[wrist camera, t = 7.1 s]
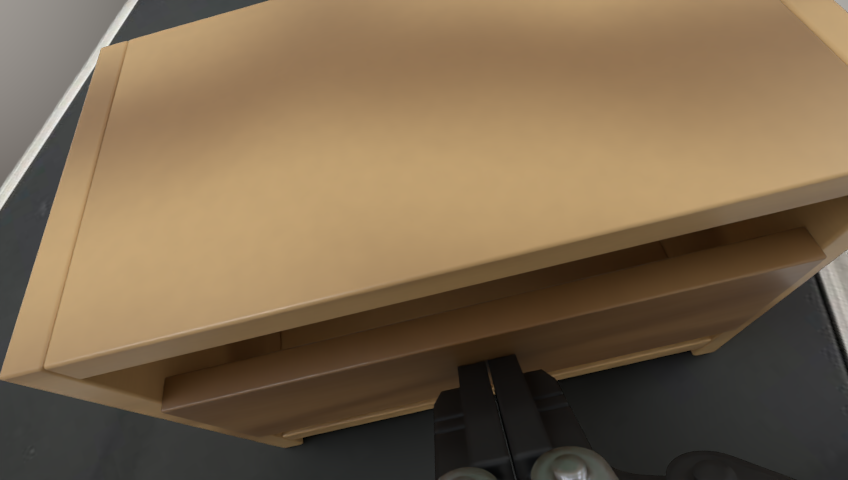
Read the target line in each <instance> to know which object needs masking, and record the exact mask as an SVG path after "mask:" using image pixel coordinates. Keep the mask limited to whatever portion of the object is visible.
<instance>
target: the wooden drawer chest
mask: <svg viewBox="0 0 848 480" xmlns="http://www.w3.org/2000/svg"><path fill="white" fill-rule="evenodd" d="M847 249H848V12H847V11H846V10H844V9H843V8H842V7H841V6H840V5H839V4H838V3H836V2H835V1H834V0H269V1H266V2H262V3H259V4H255V5H252V6H248V7H245V8H241V9H237V10H234V11H230V12H227V13H223V14H220V15H216V16H213V17H209V18H206V19H202V20H199V21H195V22H192V23H188V24H185V25H181V26H178V27H174V28H170V29H167V30H163V31H160V32H156V33H153V34H149V35H146V36H142V37H139V38H135V39H132V40H130V41H129V42H128V41H124V42H121V43H117V44H114V45H110V46H107V47H103V48H102V49H101V50H100V54H99V57H98V60H97V63H96V67H95V70H94V73H93V76H92V79H91V83H90V86H89V89H88V92H87V96H86V99H85V102H84V105H83V108H82V112H81V115H80V118H79V121H78V125H77V128H76V131H75V134H74V138H73V141H72V144H71V147H70V150H69V154H68V157H67V160H66V163H65V167H64V170H63V173H62V176H61V179H60V183H59V186H58V189H57V192H56V196H55V199H54V202H53V205H52V208H51V212H50V215H49V218H48V221H47V225H46V228H45V231H44V234H43V237H42V241H41V244H40V247H39V250H38V254H37V257H36V260H35V263H34V266H33V270H32V273H31V276H30V279H29V283H28V286H27V289H26V292H25V295H24V299H23V302H22V305H21V308H20V312H19V315H18V318H17V321H16V325H15V328H14V331H13V334H12V337H11V341H10V344H9V347H8V350H7V354H6V357H5V360H4V363H3V366H2V370H1V373H0V380H3V381H7V382H11V383H15V384H19V385H24V386H28V387H32V388H36V389H40V390H44V391H49V392H53V393H57V394H61V395H65V396H69V397H74V398H78V399H82V400H86V401H90V402H94V403H99V404H103V405H107V406H111V407H115V408H119V409H124V410H128V411H132V412H136V413H140V414H144V415H149V416H153V417H157V418H161V419H165V420H169V421H174V422H178V423H182V424H186V425H190V426H194V427H199V428H203V429H207V430H211V431H215V432H219V433H224V434H228V435H232V436H236V437H240V438H244V439H248V440H253V441H257V442H261V443H265V444H269V445H273V446H278V447H282V448H287V447H292V446H296V445H300V444H302V443H303V437H308V436H312V435H317V434H321V433H325V432H330V431H334V430H339V429H343V428H348V427H352V426H357V425H361V424H365V423H370V422H374V421H379V420H383V419H388V418H392V417H396V416H401V415H405V414H410V413H414V412H419V411H423V410H428V409H432V408H434V404H435V402H436V400H437V398H438V397H439V395H440V393H441V391H445V390H450V389H454V388H459V387H460V384H459V376H458V367H460V366H465V365H469V364H474V363H478V362H483V361H485V363H486V367H487V371H488V375H489V379H490V383H491V387H492V391H493V395H494V394H495V390H494V386H493V382H492V378H491V373H490V369H489V365H488V360H491V359H495V358H500V357H504V356H509V355H513V354H515V355H516V357H517V360H518V362H519V365H520V367H521V370H522V372H523V373H526V372H531V371H535V370H540V369H542V370H543V371H545V372H546V373H548V374H549V375H551V376H552V377H554V378H555V379H556V380H561V379H565V378H570V377H574V376H579V375H583V374H587V373H592V372H596V371H601V370H605V369H610V368H614V367H619V366H623V365H627V364H632V363H636V362H641V361H645V360H650V359H654V358H659V357H663V356H667V355H672V354H676V353H681V352H685V351H690V350H691V352H692V354H693V355H696V356H697V355H701V354H706V353H710V352H714V351H716V350H717V349H718V348H719V347H721V346H722V345H723V344H725V343H726V342H727V341H729V340H730V339H731V338H733V337H734V336H735V335H736V334H738V333H739V332H740V331H742V330H743V329H744V328H746V327H747V326H748V325H749V324H751V323H752V322H753V321H755V320H756V319H757V318H759V317H760V316H761V315H763V314H764V313H765V312H766V311H768V310H769V309H770V308H772V307H773V306H774V305H776V304H777V303H778V302H779V301H781V300H782V299H783V298H785V297H786V296H787V295H789V294H790V293H791V292H792V291H794V290H795V289H796V288H798V287H799V286H800V285H802V284H803V283H804V282H806V281H807V280H808V279H809V278H811V277H812V276H813V275H815V274H816V273H817V272H819V271H820V270H821V269H822V268H824V267H825V266H826V265H828V264H829V263H830V262H832V261H833V260H834V259H836V258H837V257H838V256H839V255H841V254H842V253H843V252H845V251H846V250H847Z"/></svg>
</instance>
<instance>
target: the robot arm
mask: <svg viewBox="0 0 848 480" xmlns="http://www.w3.org/2000/svg"><path fill="white" fill-rule="evenodd" d="M488 365H489V369H490V373H491V378H492V382H493V386H494V390H495V394H496V398H497V403H498V407H499V411H500V415H501V419H502V423H503V427H504V431H505V435H506V439H507V443H508V447H509V451H510V455H511V458H512V462H513V466H514V470H515V474H516V478H517V480H795V479H793V478H790V477H787V476H785V475H782V474H779V473H776V472H774V471H771V470H768V469H766V468H763V467H760V466H758V465H755V464H752V463H750V462H747V461H744V460H742V459H739V458H736V457H733V456H730V455H727V454H724V453H719V452H714V451H693V452H689V453H685V454H682V455H680V456H678V457H677V458H675V459H674V460H673V461H672V462H671V463H670V464H669V466H668V467H667V471H666V476H655V475H640V474H632V473H627V472H624V471H620V470H617V469H615V468H613V467H611V466H610V465H609V464H608V463H607V461H606V460H605V459H604V458H603V457H602V456H601V455H599V454H597V453H596V452H594V451H593V450H592V448H591V446H590V444H589V442H588V440H587V438H586V436H585V434H584V433H583V431H582V429H581V427H580V425H579V423H578V421H577V419H576V417H575V415H574V413H573V411H572V409H571V407H570V406H569V404H568V402H567V400H566V398H565V396H564V395H563V392H562V390H561V388H560V386H559V384H558V382H557V380H556V379H555V378H554V377H552V376H551V375H549V374H548V373H546V372H545V371H543V370H542V369H540V370H535V371H531V372H526V373H523V372H522V370H521V367H520V365H519V362H518V360H517V357H516V355H515V354H513V355H509V356H504V357H500V358H495V359H491V360H488ZM458 376H459V384H460V387H459V388H454V389H450V390H445V391H441V393H440V395H439V397H438V398H437V400H436V402H435V404H434V433H435V435H434V440H435V478H436V480H515V479H514V475H513V471H512V467H511V463H510V458H509V454H508V450H507V447H506V443H505V439H504V435H503V431H502V427H501V423H500V419H499V415H498V411H497V407H496V403H495V399H494V395H493V391H492V387H491V383H490V379H489V375H488V371H487V367H486V363H485V361H483V362H478V363H474V364H469V365H465V366H460V367H458Z"/></svg>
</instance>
